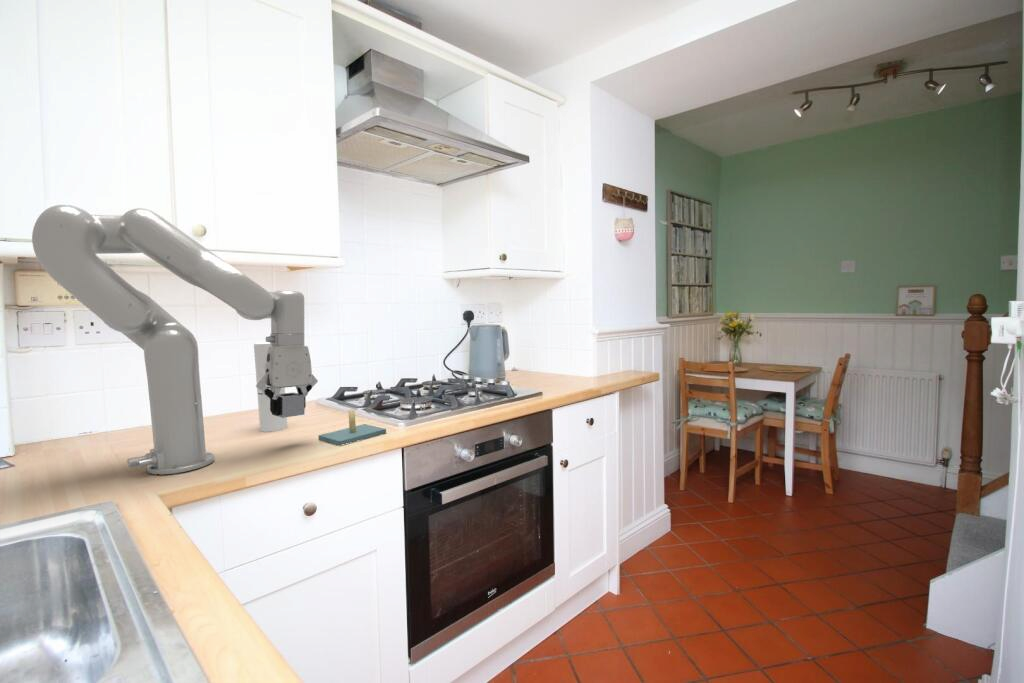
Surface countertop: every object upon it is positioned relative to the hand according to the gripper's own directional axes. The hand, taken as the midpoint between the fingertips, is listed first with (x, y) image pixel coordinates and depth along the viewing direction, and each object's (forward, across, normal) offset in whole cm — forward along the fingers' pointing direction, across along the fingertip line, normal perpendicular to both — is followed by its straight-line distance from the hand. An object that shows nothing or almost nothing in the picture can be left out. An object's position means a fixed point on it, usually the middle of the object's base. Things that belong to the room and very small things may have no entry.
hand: (288, 412), depth 122 cm
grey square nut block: (+1, 0, 0) cm, 1 cm away
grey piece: (+9, +7, +22) cm, 25 cm away
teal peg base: (+8, +15, -6) cm, 18 cm away
